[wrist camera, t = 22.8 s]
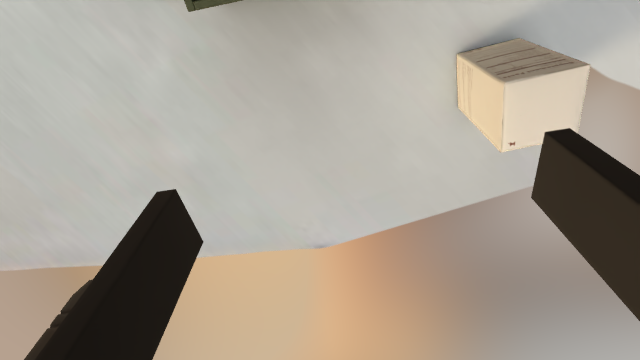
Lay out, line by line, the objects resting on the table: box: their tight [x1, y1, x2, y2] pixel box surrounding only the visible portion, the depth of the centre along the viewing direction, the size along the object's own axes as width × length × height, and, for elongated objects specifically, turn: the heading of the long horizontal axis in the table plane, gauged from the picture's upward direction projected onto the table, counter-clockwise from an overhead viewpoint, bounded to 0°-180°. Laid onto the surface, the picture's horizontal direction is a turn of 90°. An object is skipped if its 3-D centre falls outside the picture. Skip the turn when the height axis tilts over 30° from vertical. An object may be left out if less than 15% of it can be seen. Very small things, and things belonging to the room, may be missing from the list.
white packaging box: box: [457, 38, 590, 152], centre depth 36 cm, size 7×7×13 cm
